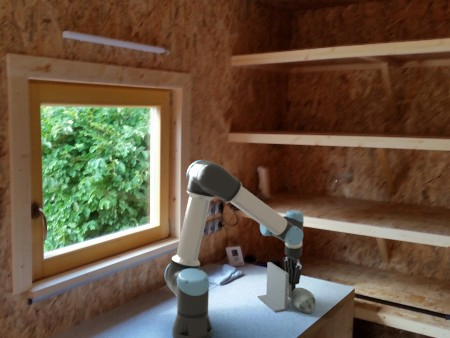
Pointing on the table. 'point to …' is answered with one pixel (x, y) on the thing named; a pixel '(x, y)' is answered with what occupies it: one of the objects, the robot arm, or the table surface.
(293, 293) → the grey streaked ovoid
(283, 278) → the grey screen
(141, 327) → the table surface
